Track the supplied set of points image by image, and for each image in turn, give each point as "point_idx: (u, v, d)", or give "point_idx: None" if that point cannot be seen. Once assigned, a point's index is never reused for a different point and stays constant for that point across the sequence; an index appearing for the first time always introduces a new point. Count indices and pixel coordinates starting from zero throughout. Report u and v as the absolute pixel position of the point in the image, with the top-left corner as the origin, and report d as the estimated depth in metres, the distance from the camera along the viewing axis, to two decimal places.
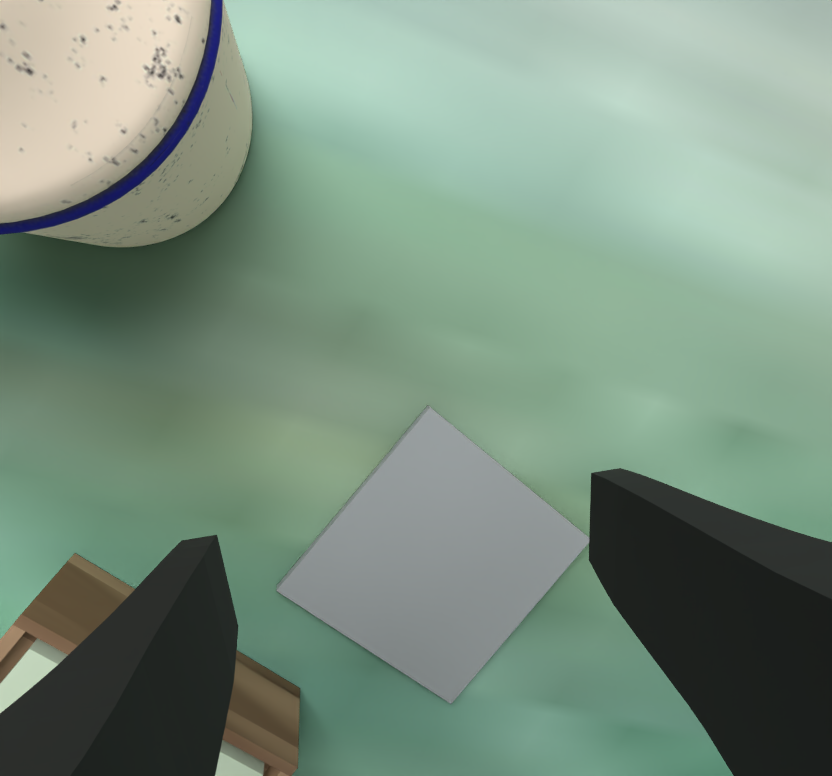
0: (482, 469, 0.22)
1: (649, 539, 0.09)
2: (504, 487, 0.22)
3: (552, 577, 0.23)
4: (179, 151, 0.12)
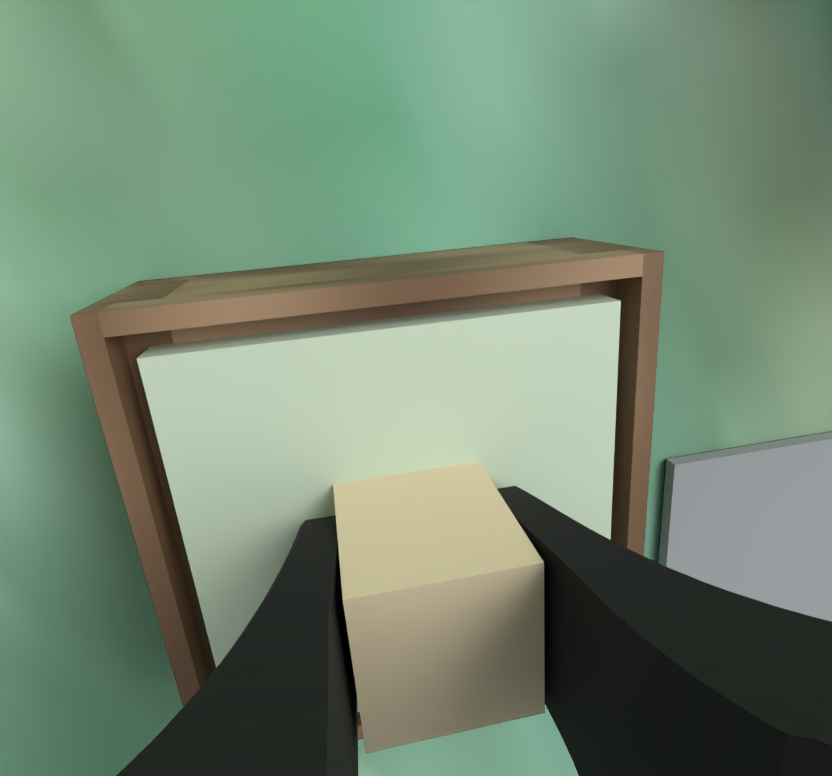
0: None
1: None
2: None
3: None
4: None
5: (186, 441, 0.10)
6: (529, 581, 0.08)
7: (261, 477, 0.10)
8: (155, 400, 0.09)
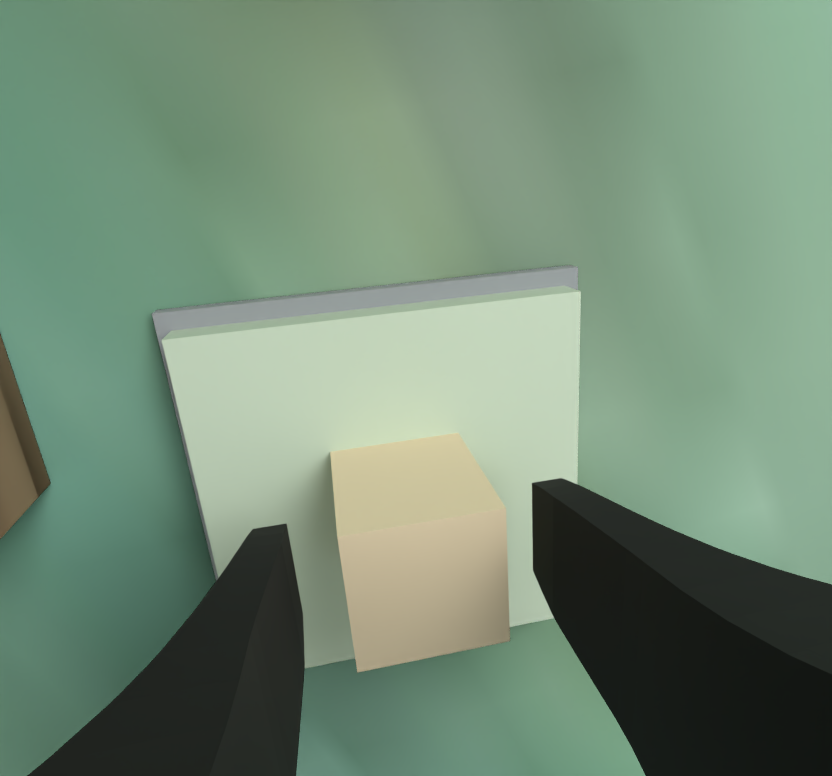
0: None
1: (580, 553, 0.09)
2: None
3: None
4: None
5: (203, 412, 0.11)
6: (493, 524, 0.09)
7: (267, 444, 0.12)
8: (177, 376, 0.11)
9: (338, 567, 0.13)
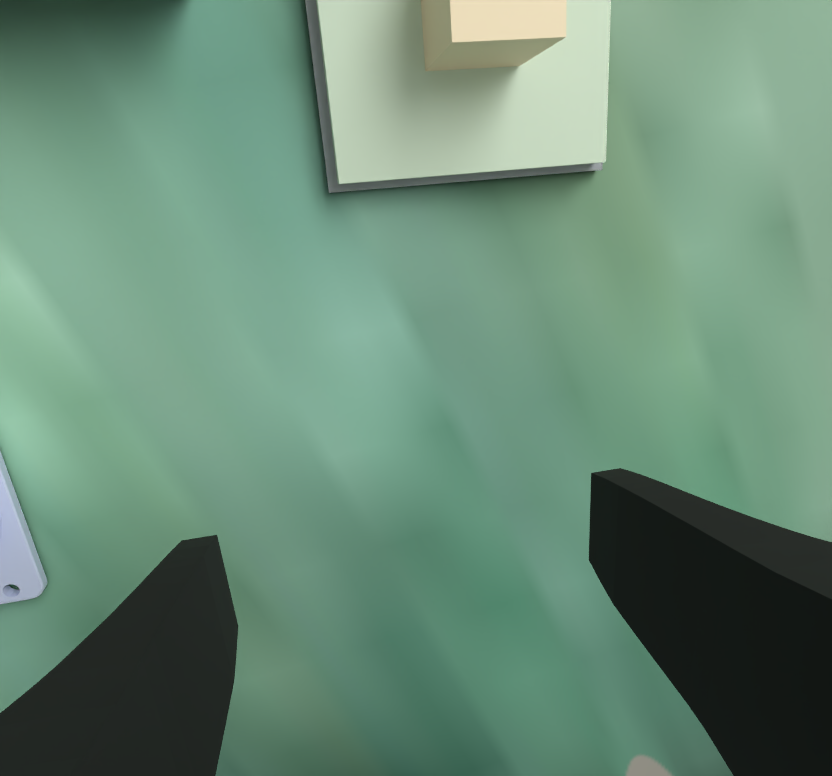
0: None
1: (649, 540, 0.09)
2: None
3: None
4: None
5: None
6: None
7: None
8: None
9: (419, 75, 0.16)
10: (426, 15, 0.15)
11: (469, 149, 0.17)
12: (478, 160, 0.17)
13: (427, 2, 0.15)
